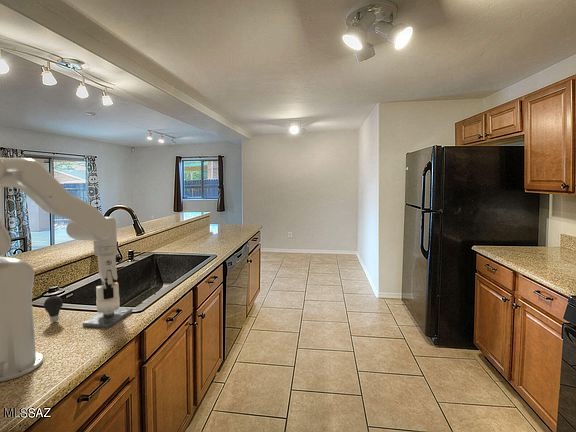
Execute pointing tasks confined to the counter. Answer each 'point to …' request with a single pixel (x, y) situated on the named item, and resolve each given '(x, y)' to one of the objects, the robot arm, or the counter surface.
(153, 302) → the counter surface
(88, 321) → the plate
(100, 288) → the twist cap
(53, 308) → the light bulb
